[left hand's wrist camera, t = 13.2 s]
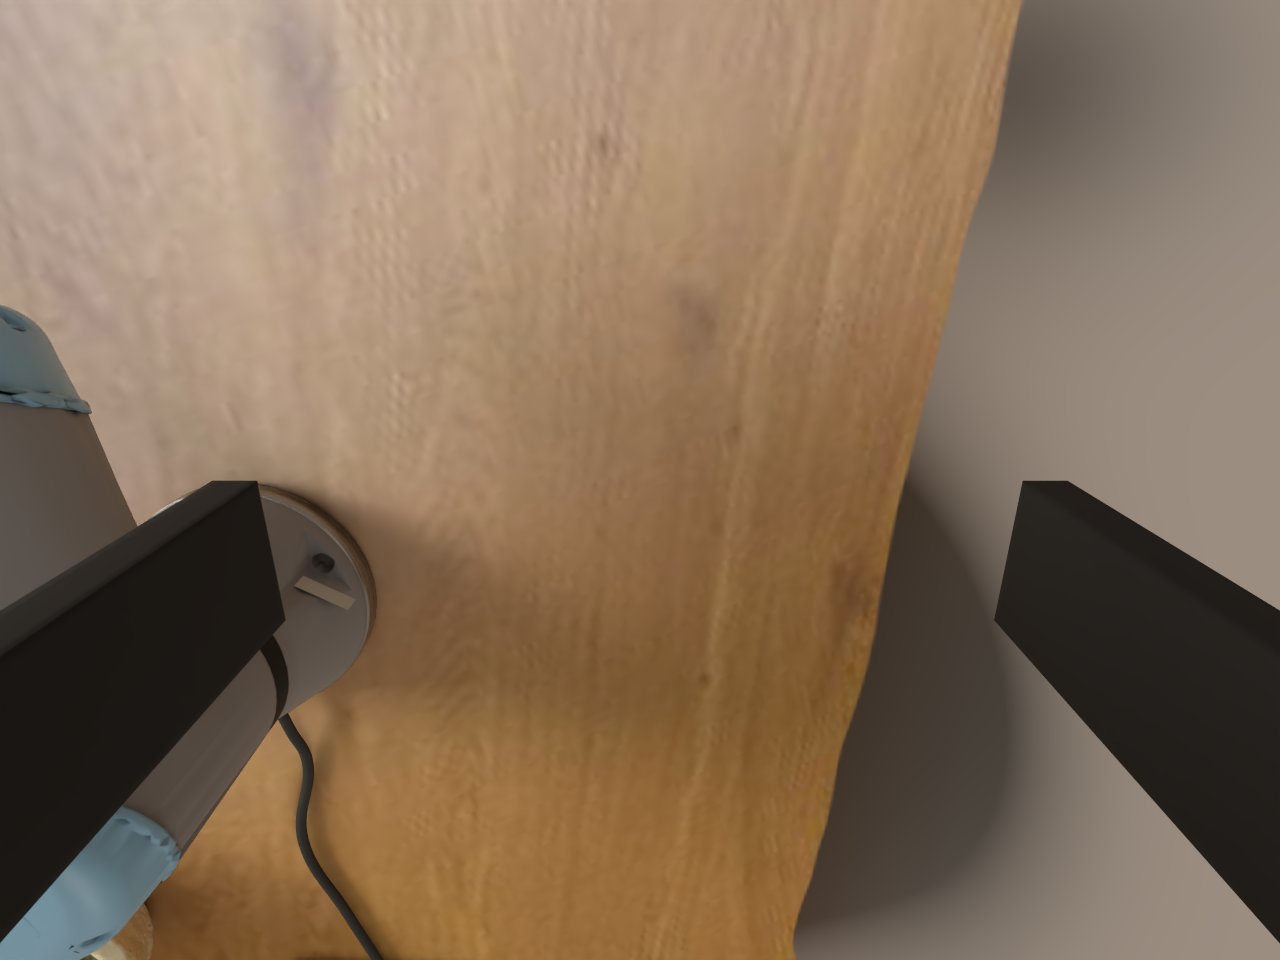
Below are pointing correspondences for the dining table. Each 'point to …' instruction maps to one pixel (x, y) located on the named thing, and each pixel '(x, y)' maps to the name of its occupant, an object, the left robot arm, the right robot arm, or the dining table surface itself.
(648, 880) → the dining table surface
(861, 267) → the dining table surface
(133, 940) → the bowl
